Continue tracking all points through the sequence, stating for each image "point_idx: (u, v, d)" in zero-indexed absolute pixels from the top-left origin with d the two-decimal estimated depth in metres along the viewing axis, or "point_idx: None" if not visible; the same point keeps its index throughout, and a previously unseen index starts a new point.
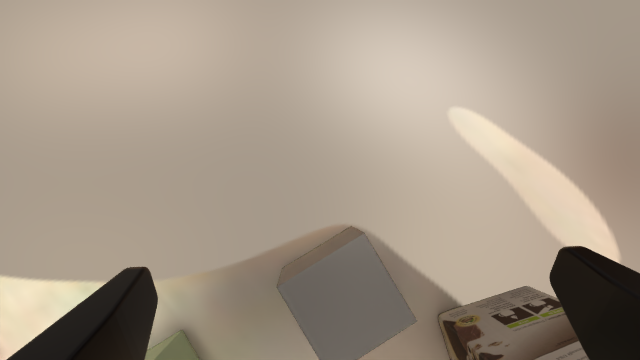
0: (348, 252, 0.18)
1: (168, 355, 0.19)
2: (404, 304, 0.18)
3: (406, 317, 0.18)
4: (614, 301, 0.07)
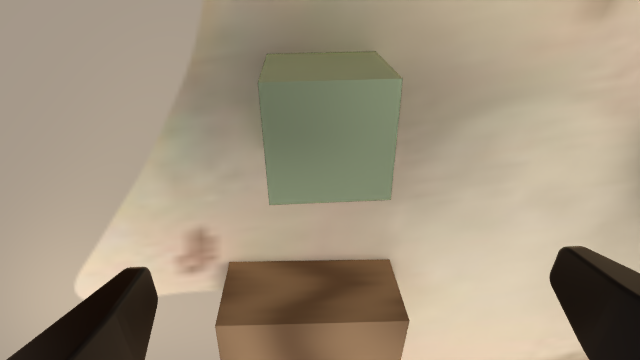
0: None
1: (273, 67, 0.14)
2: None
3: None
4: (614, 301, 0.07)
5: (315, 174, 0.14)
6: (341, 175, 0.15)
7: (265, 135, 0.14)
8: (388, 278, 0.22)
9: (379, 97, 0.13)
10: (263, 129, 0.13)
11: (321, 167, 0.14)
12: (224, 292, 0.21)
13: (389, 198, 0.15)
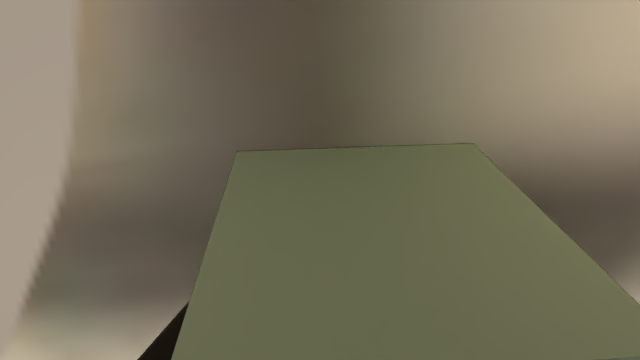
0: None
1: (240, 237, 0.05)
2: None
3: None
4: None
5: None
6: None
7: None
8: None
9: None
10: None
11: None
12: None
13: None
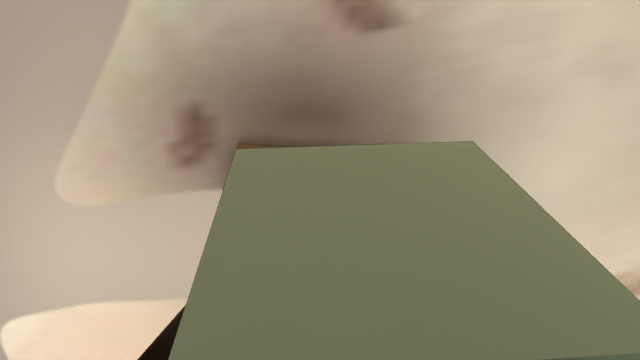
0: None
1: (240, 235, 0.05)
2: None
3: None
4: None
5: None
6: None
7: None
8: None
9: None
10: None
11: None
12: None
13: None
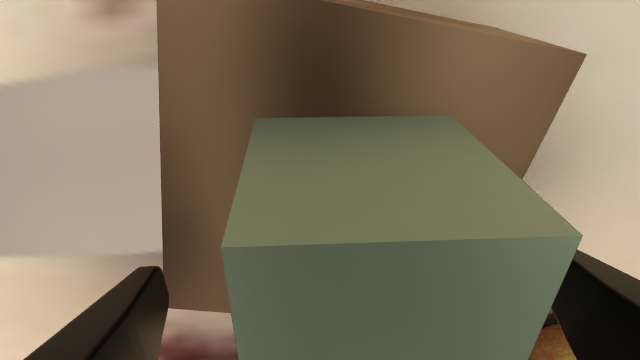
0: None
1: (265, 171, 0.07)
2: None
3: None
4: (601, 302, 0.07)
5: None
6: None
7: (240, 344, 0.06)
8: (507, 32, 0.12)
9: (517, 272, 0.05)
10: (237, 333, 0.06)
11: None
12: None
13: None
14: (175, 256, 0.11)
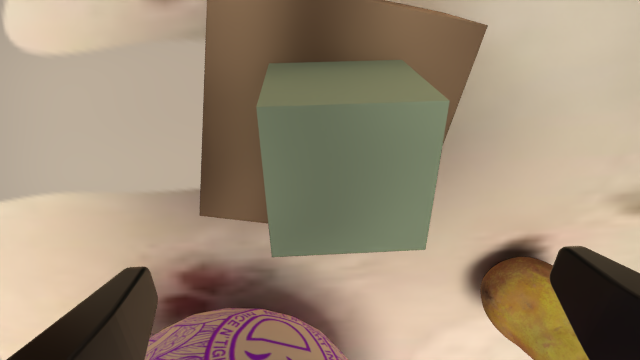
0: None
1: (277, 84, 0.11)
2: None
3: None
4: (614, 301, 0.07)
5: (331, 220, 0.11)
6: (363, 221, 0.11)
7: (265, 174, 0.10)
8: (447, 14, 0.16)
9: (417, 125, 0.10)
10: (264, 166, 0.10)
11: (338, 212, 0.11)
12: None
13: (423, 248, 0.12)
14: (209, 173, 0.16)
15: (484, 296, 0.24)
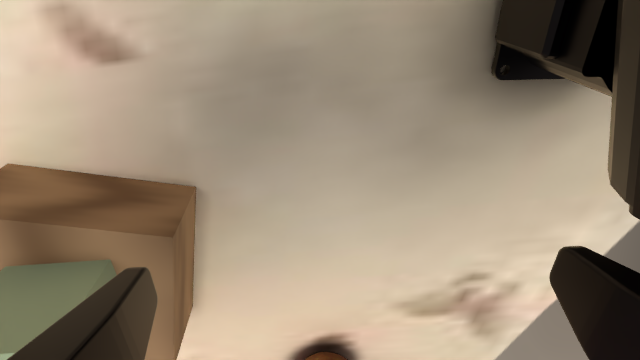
0: None
1: None
2: None
3: None
4: (614, 301, 0.07)
5: None
6: None
7: None
8: (181, 201, 0.20)
9: None
10: None
11: None
12: None
13: None
14: None
15: None
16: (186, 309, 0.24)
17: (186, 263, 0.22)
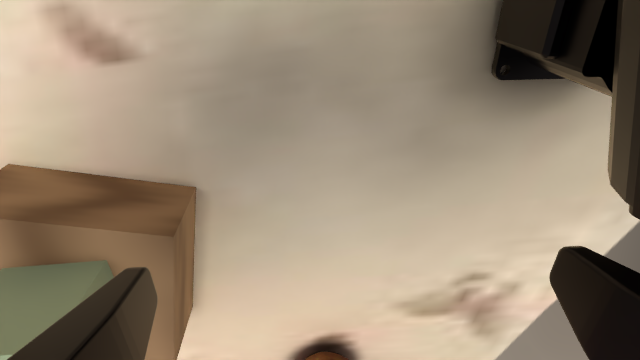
0: None
1: None
2: None
3: None
4: (614, 301, 0.07)
5: None
6: None
7: None
8: (181, 201, 0.20)
9: None
10: None
11: None
12: None
13: None
14: None
15: None
16: (186, 309, 0.24)
17: (186, 263, 0.22)
